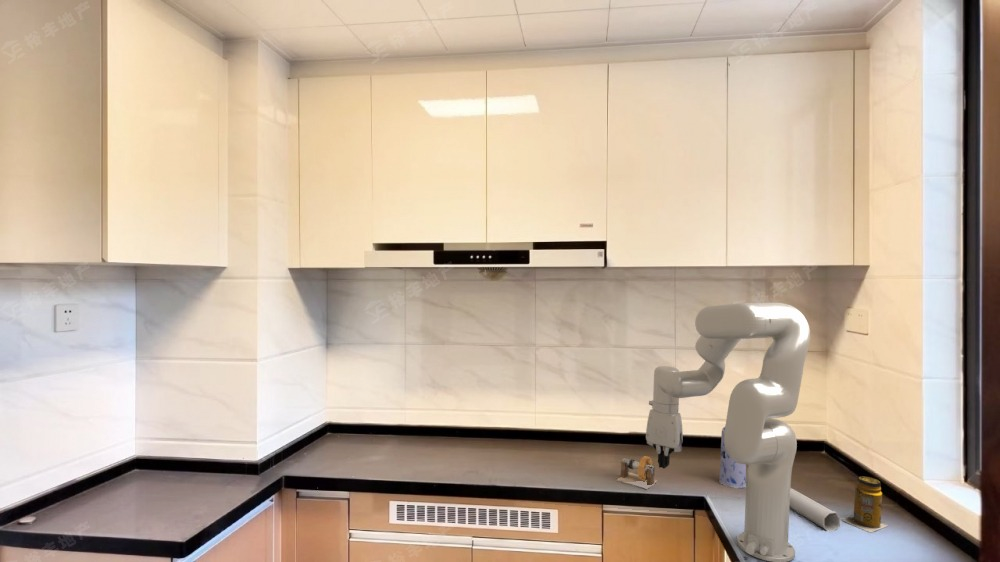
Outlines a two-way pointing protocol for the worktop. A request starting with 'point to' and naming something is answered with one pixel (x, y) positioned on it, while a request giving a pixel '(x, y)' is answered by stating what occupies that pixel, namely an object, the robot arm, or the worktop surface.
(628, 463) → the pipe
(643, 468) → the o ring
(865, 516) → the condiment
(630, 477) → the base board
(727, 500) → the worktop surface
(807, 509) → the tube
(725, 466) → the aerosol can
